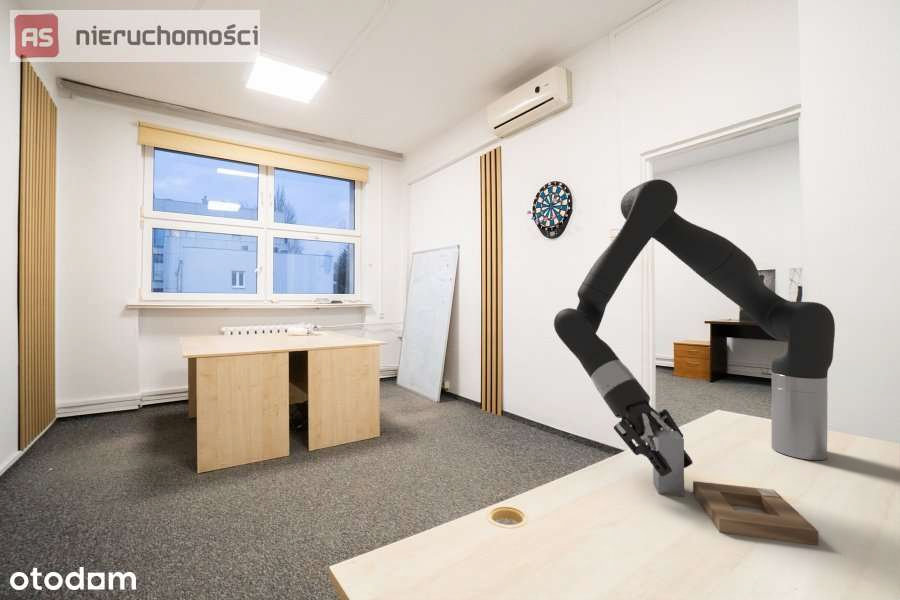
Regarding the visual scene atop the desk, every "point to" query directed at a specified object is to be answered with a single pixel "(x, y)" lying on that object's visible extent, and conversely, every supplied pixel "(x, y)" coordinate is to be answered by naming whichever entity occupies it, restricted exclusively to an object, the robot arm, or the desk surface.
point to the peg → (670, 462)
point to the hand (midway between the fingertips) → (677, 469)
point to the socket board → (772, 525)
